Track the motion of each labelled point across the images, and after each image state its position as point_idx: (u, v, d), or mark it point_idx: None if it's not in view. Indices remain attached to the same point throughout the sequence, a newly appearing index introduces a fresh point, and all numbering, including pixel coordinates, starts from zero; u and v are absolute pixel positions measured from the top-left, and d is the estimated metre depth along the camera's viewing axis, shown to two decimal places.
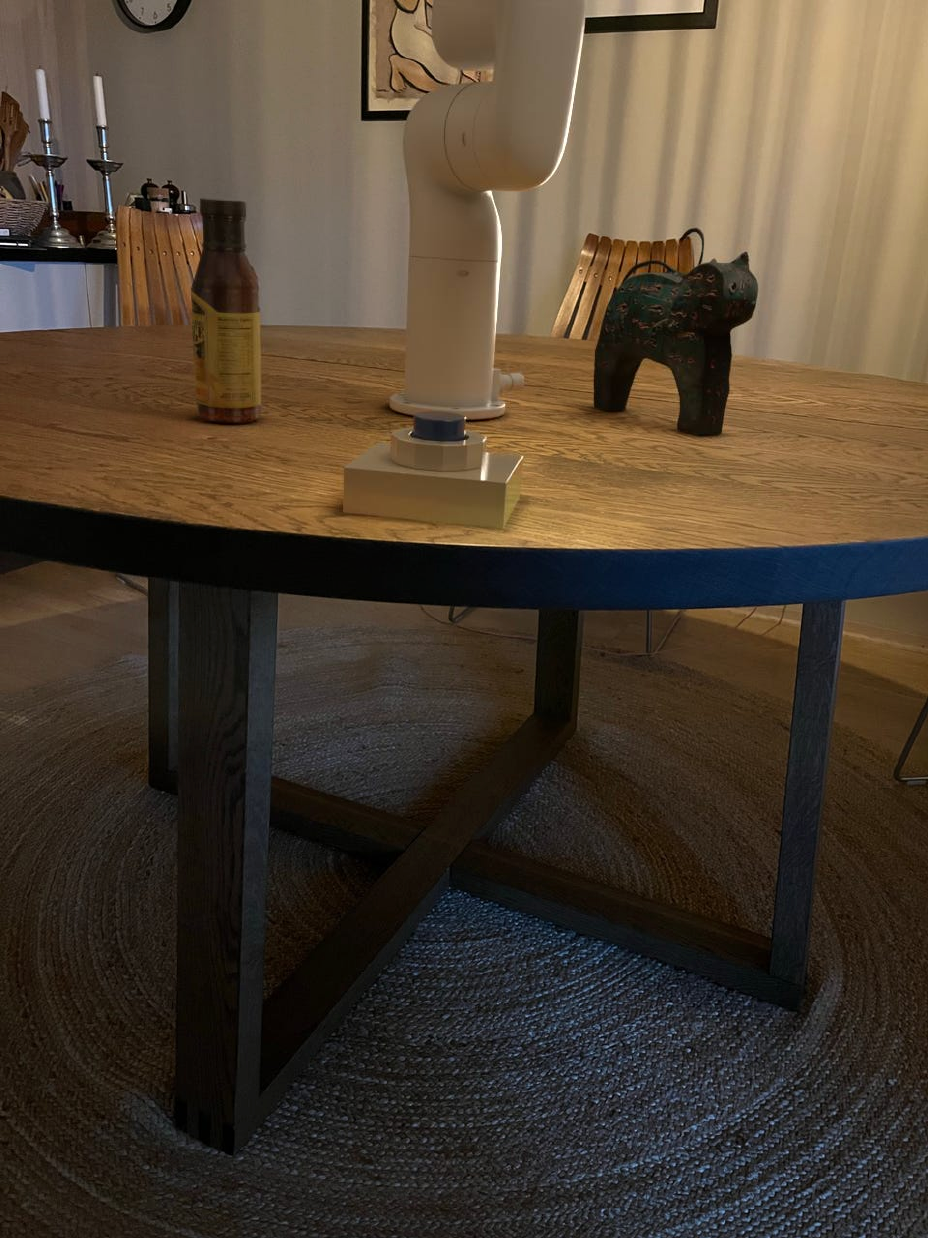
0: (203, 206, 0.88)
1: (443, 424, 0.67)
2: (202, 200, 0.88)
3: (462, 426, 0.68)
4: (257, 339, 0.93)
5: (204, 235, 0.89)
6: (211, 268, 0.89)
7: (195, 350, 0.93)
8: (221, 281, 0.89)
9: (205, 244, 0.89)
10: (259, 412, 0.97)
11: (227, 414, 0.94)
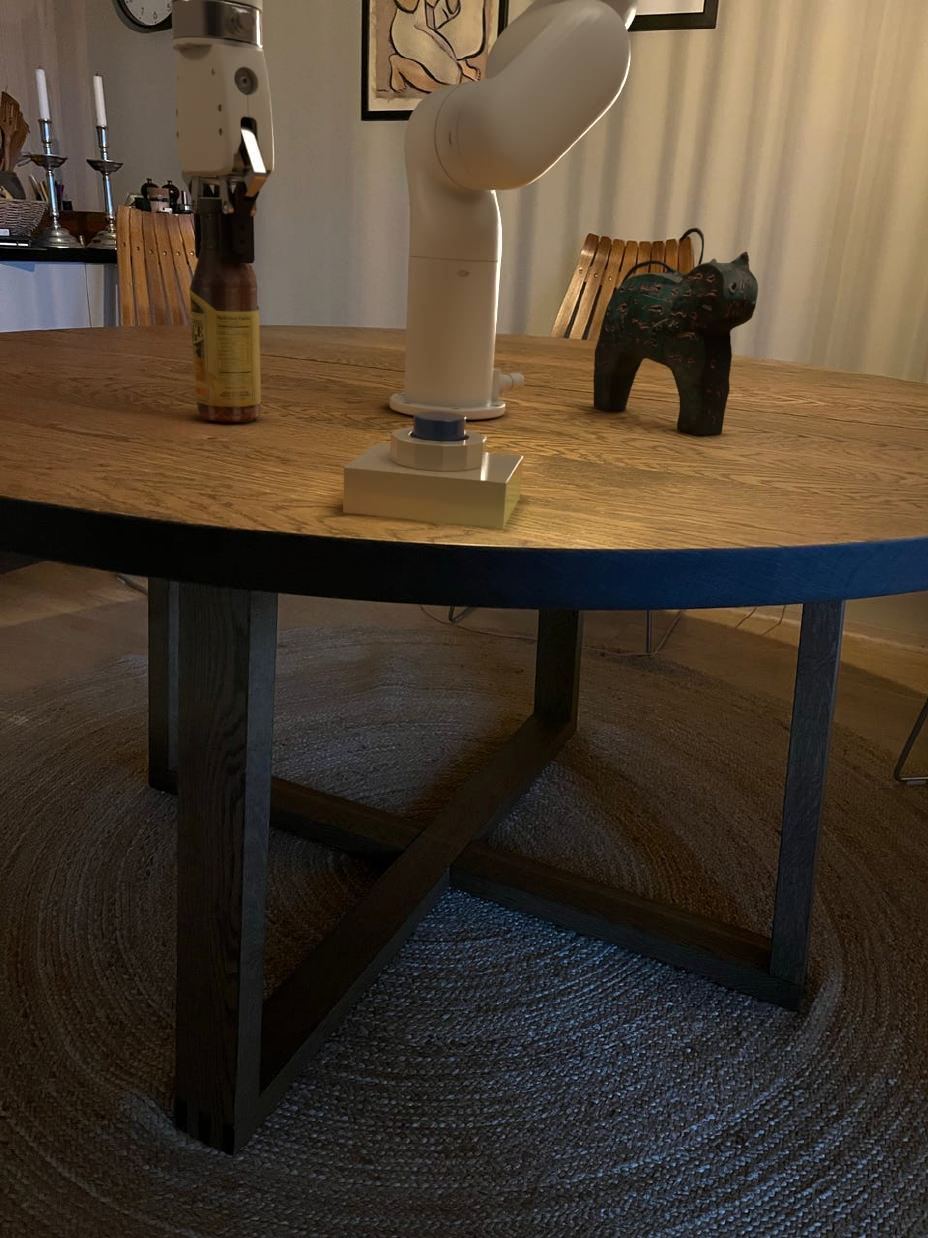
0: (201, 205, 0.88)
1: (443, 424, 0.67)
2: (200, 199, 0.88)
3: (462, 426, 0.68)
4: (256, 337, 0.93)
5: (202, 234, 0.90)
6: (209, 266, 0.90)
7: (194, 349, 0.93)
8: (220, 279, 0.89)
9: (203, 243, 0.90)
10: (259, 411, 0.97)
11: (227, 412, 0.94)
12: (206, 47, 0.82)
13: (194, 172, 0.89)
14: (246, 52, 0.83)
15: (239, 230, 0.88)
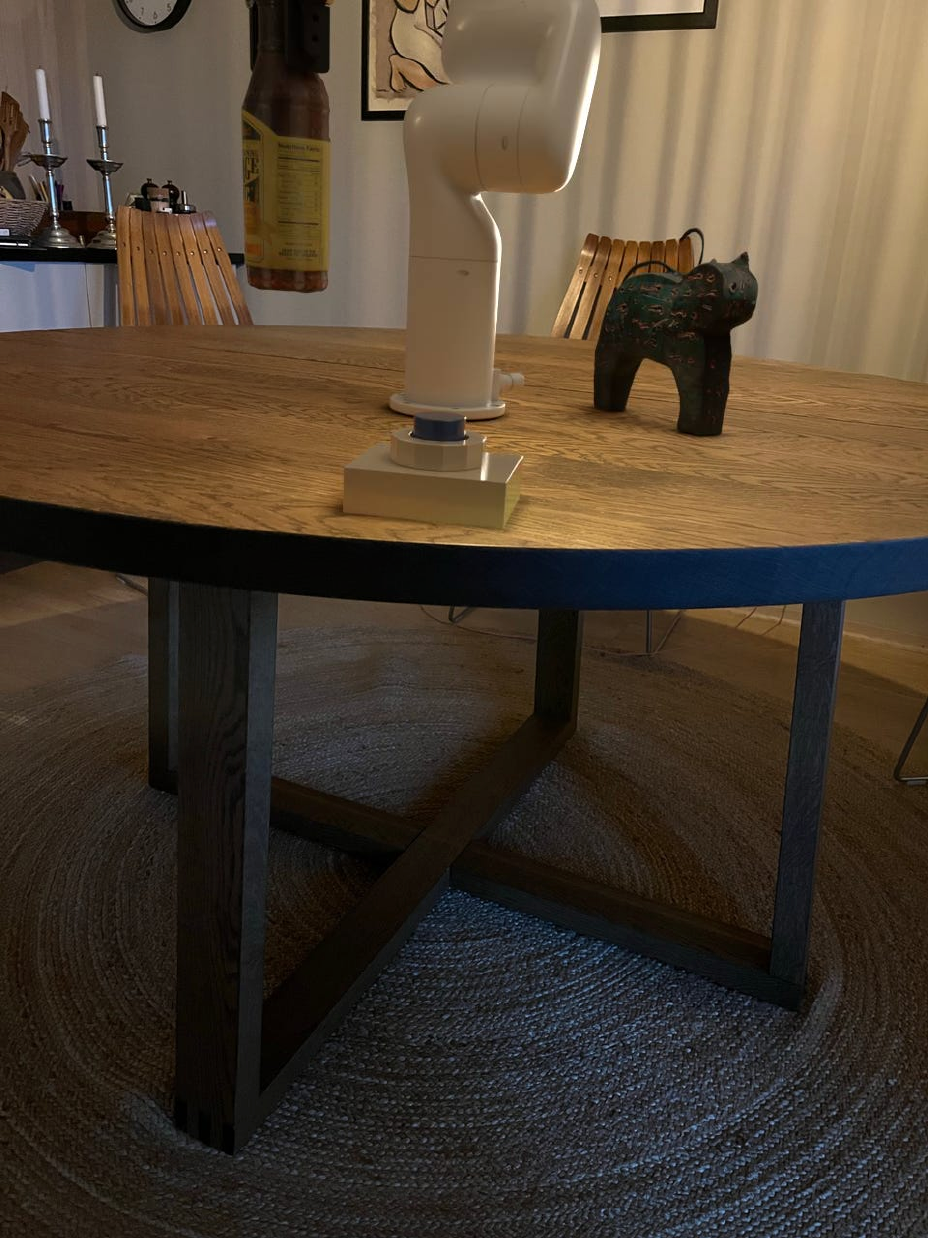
0: None
1: (443, 424, 0.67)
2: None
3: (462, 426, 0.68)
4: (326, 178, 0.71)
5: (260, 32, 0.67)
6: (270, 75, 0.67)
7: (246, 192, 0.71)
8: (283, 92, 0.67)
9: (261, 44, 0.67)
10: (326, 281, 0.75)
11: (287, 278, 0.72)
12: None
13: None
14: None
15: (312, 21, 0.66)
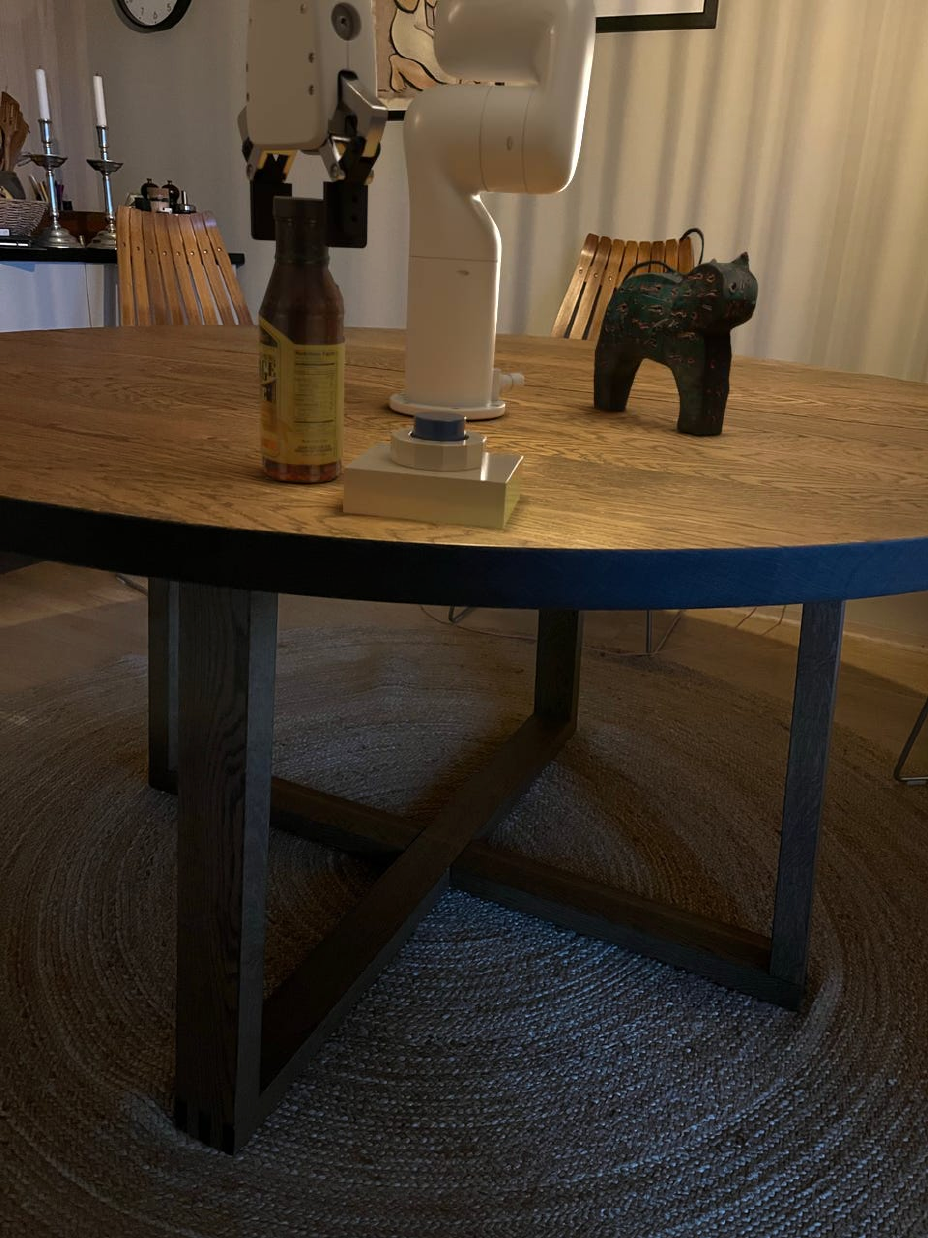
0: (279, 207, 0.68)
1: (443, 424, 0.67)
2: (277, 199, 0.68)
3: (462, 426, 0.68)
4: (341, 377, 0.73)
5: (278, 245, 0.69)
6: (287, 287, 0.69)
7: (263, 391, 0.72)
8: (300, 304, 0.69)
9: (278, 256, 0.69)
10: (340, 468, 0.76)
11: (303, 472, 0.74)
12: None
13: (270, 146, 0.68)
14: None
15: (351, 203, 0.65)
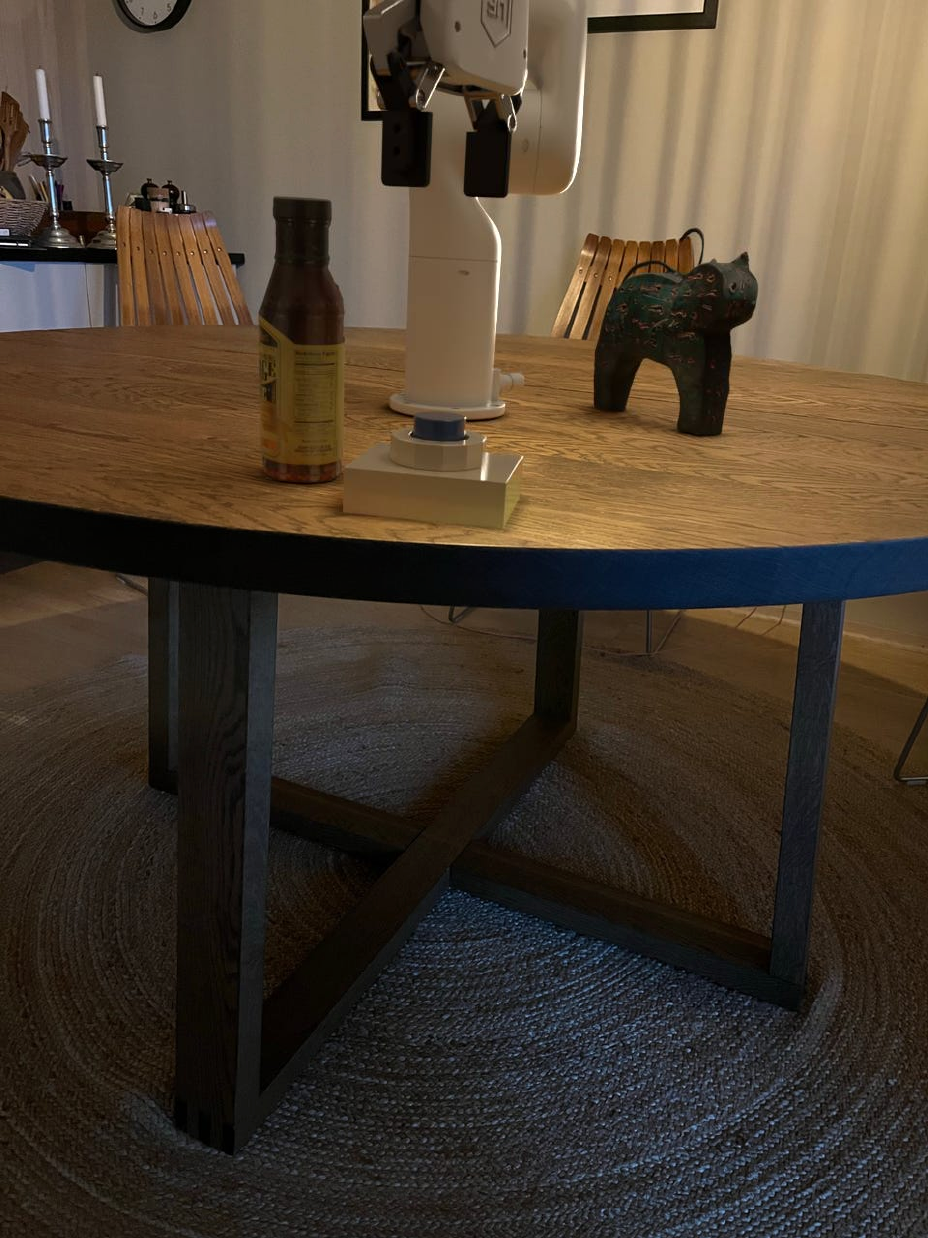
0: (279, 207, 0.68)
1: (443, 424, 0.67)
2: (277, 199, 0.68)
3: (462, 426, 0.68)
4: (341, 377, 0.73)
5: (278, 245, 0.69)
6: (287, 287, 0.69)
7: (263, 391, 0.72)
8: (300, 304, 0.69)
9: (278, 256, 0.69)
10: (340, 468, 0.76)
11: (303, 472, 0.74)
12: None
13: None
14: None
15: (395, 133, 0.58)
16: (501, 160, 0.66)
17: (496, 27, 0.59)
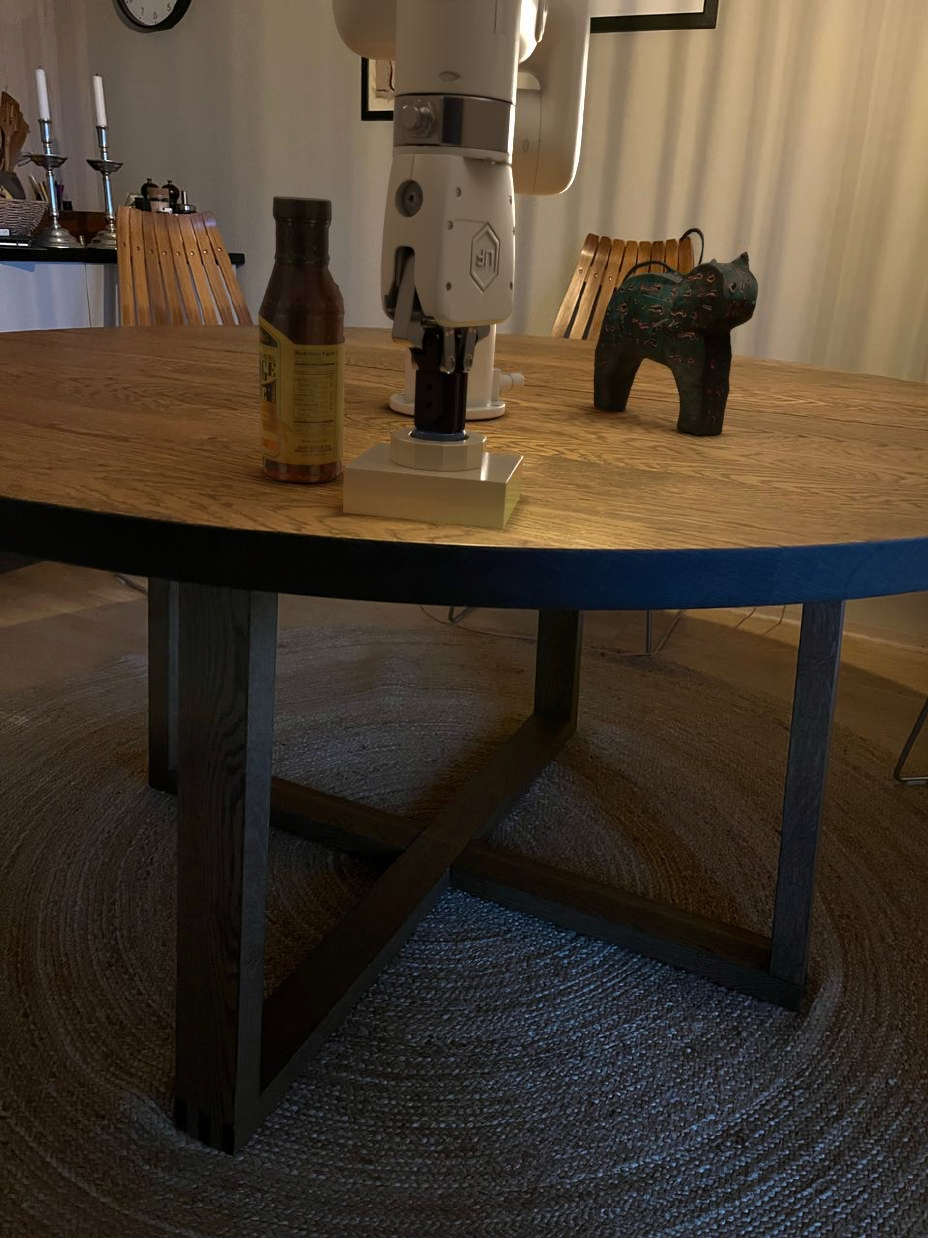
0: (279, 207, 0.68)
1: (442, 438, 0.67)
2: (277, 199, 0.68)
3: (461, 440, 0.68)
4: (341, 377, 0.73)
5: (278, 245, 0.69)
6: (287, 287, 0.69)
7: (263, 391, 0.72)
8: (300, 304, 0.69)
9: (278, 256, 0.69)
10: (340, 468, 0.76)
11: (303, 472, 0.74)
12: None
13: None
14: (416, 159, 0.59)
15: (428, 390, 0.67)
16: None
17: (484, 274, 0.64)
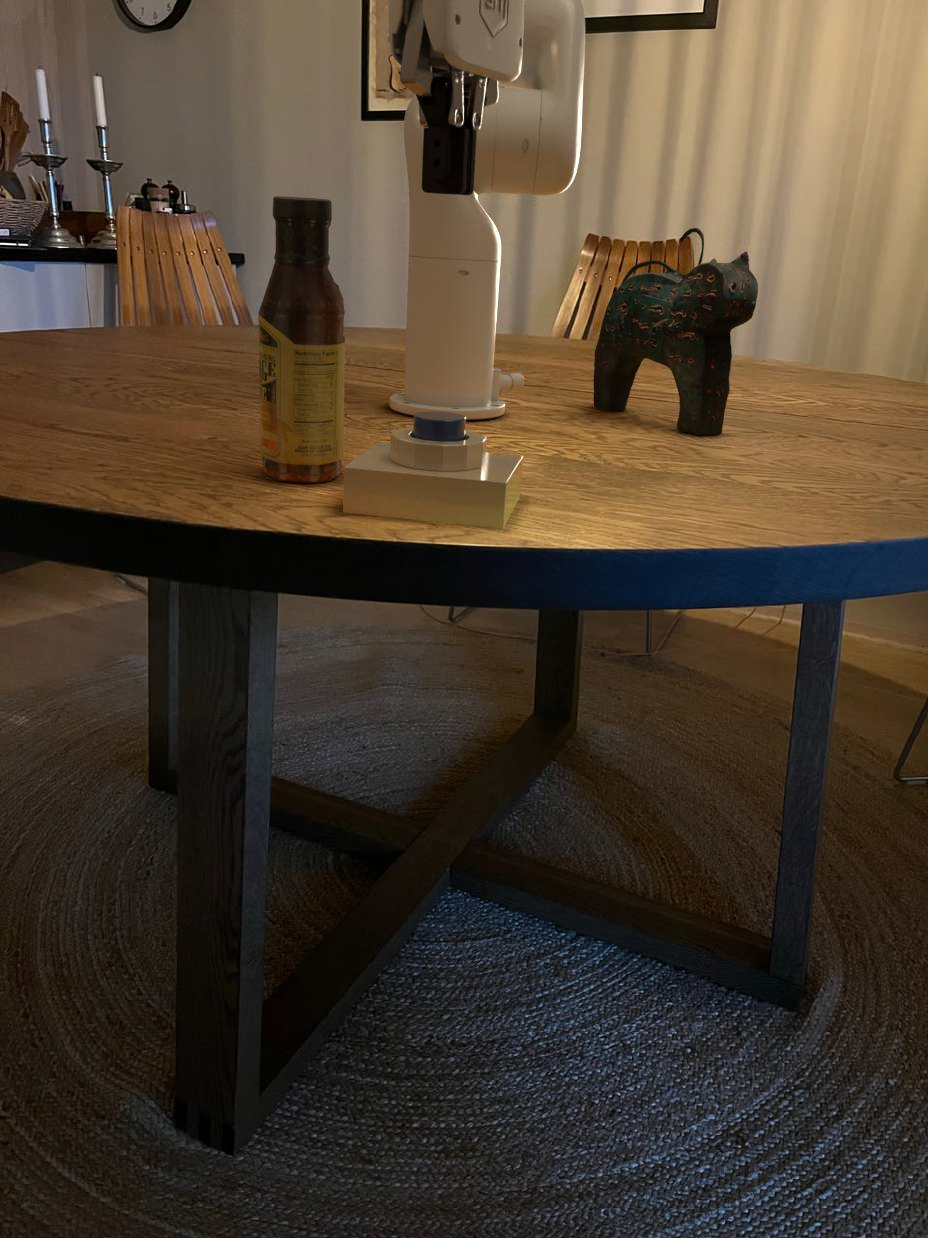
0: (279, 207, 0.68)
1: (443, 424, 0.67)
2: (277, 199, 0.68)
3: (462, 426, 0.68)
4: (341, 377, 0.73)
5: (278, 245, 0.69)
6: (287, 287, 0.69)
7: (263, 391, 0.72)
8: (300, 304, 0.69)
9: (278, 256, 0.69)
10: (340, 468, 0.76)
11: (303, 472, 0.74)
12: None
13: None
14: None
15: (436, 147, 0.66)
16: (466, 158, 0.67)
17: (494, 18, 0.63)
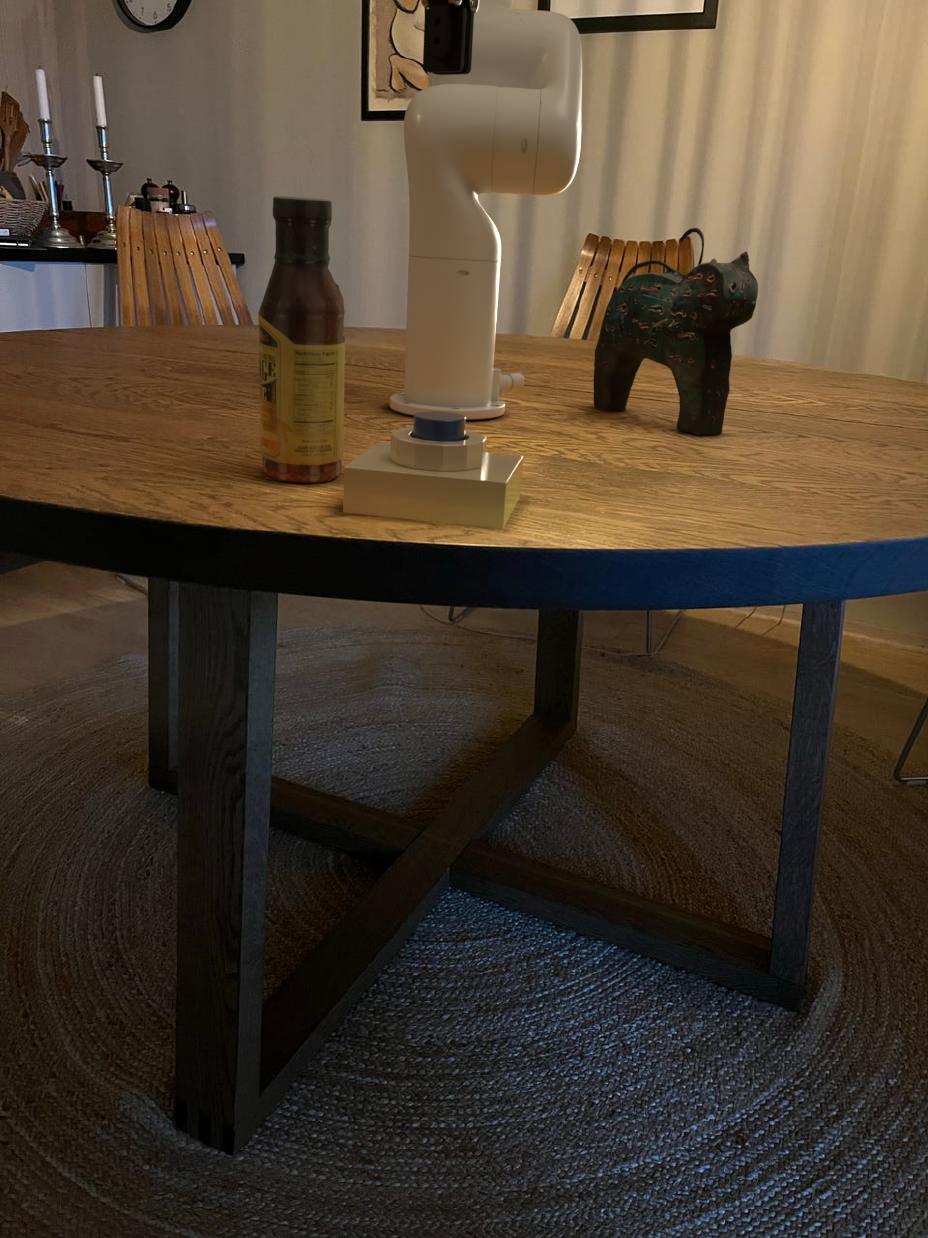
0: (279, 207, 0.68)
1: (443, 424, 0.67)
2: (277, 199, 0.68)
3: (462, 426, 0.68)
4: (341, 377, 0.73)
5: (278, 245, 0.69)
6: (287, 287, 0.69)
7: (263, 391, 0.72)
8: (300, 304, 0.69)
9: (278, 256, 0.69)
10: (340, 468, 0.76)
11: (303, 472, 0.74)
12: None
13: None
14: None
15: (436, 25, 0.71)
16: (464, 37, 0.72)
17: None
